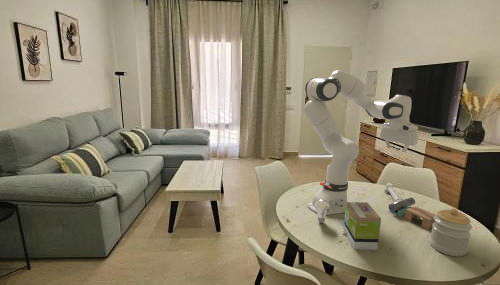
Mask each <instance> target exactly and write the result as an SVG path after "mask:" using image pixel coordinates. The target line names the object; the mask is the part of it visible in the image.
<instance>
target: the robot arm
mask: <svg viewBox="0 0 500 285" xmlns="http://www.w3.org/2000/svg"><path fill="white" fill-rule="evenodd" d="M304 87H305V88H304V90H305V97H306V100H307V102H306V103H305V104H304V105H303V111H304V114H305V116H306V118H307V120H308V122H309V124H310V125H311V126H312V128H313V129H314V130H315V132H316V133H317V135H318V136H319V138H320V141H321V144H322V147H323V149H324V150H325V151H326V152H327V153H328V154H330V155H331V156H332V158H331V162H330V163H329V164H328V165H327V168H326V177H325V178H326V179H325V181H320V182H319V186H322V187H321V188H320V189H319V190H318V191H317V192H315V194H314V195H313V196H312V200H311V202H308V203H307V207H308V209H310V210H311V211H312V212H315V213H316V214H317V211H316V209H315V204H316V202H317V201H318V200H320V199H324V200H326V201H327V202H328V203H329V205H330V209H329V212H328V213H327V214H326V216H330V215H336V214H345V210H346V202H348V188H349V182H348V181H349V180H348V179H349V171H350V168H351V166H352V165H351V164H352V163H353V161H354V160H355V159H357V157H358V156H359V154H360V146H358V144H357V143H356V142H354V141H353V140H352V139H349V138H347V137H344V136H343V135H342V134H341V133H340V131H339V124H338V122H337V121H336V119H335V117H334V116H333V115H332V113H331V112H330V110H329V109H328V107H327V103H326V102H329V101H333V100H334V99H335V98H336V97H337V96H338V95H340V96H341V97H343V98H345V99H347V100H349V101H353V102H354V103H356V104H357V105H358V106H360V107H362V108H363V109H364V111H365V112H366V114H367V115H368V116H369V117H370V118H378V119H382V120H386V121H387V120H390V123H387V122H384V123H383V124H382V125H381V130H380V132H379V133H380V134H379V138H380V140H384V142H385V144H386V148H387V149H391V147H392V145H391V144H390V143H391V142H395V143H400V144H404V147H403V148H401V152H403V153H406V152H407V150H408V149H409V147H410V146H416V144H418V141H419V139H418V138H419V133H418V130H419V126H418V125H415V124H414V123H411V121H410V115H411V112H412V111H411V110H412V98H411V97H410V96H409V95H405V94H396V95H394V97H392V98H390V99H388V100H383V99H376V98H375V99H374V98H371V97H369V95H367V94H365V92H366V84H365V83H364V81H362V80H361V79H360V78H358V77H356V76H355V75H353V74H351V73H350V72H347V71H344V70H342V69H336V70H334V71H333V72H332V73H331V74H330V75H329V77H313V78H311V79H309V80H308V81H307V82H306V84H305V86H304Z"/></svg>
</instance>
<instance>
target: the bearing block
mask: <svg viewBox="0 0 500 285" xmlns="http://www.w3.org/2000/svg"><path fill="white" fill-rule="evenodd" d="M411 207H412V208H408V209H406V210H405V215H404V217H403V219H404V220H405V221H407V222H410V223H412V222H415V221H418V220H421V219H422V220H421V227H420V228H422V229H424V230H427V231H431V230H432V227H433V226H432V225H433V223H434V222H435V221H434V216H436V215H437V214H435V213H433V212H431V211H428V210H425V209H423V208H421V207H418V206H416V205H415V206H411Z"/></svg>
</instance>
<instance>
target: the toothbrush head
mask: <svg viewBox="0 0 500 285" xmlns="http://www.w3.org/2000/svg"><path fill="white" fill-rule="evenodd" d="M383 189H384V190H383V191H384V193H385V194H387V195H391V196H392V199H393V200H394V203H395V202H398V201H401V200H404V199H403V198H401V196H400V195H399V193H398V192H397V191H396V189H395V188H394V185H393V184H392V183H391V182H387V183H386V185H385V186H384V188H383Z"/></svg>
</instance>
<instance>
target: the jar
mask: <svg viewBox="0 0 500 285" xmlns="http://www.w3.org/2000/svg"><path fill="white" fill-rule="evenodd" d="M435 215H436V216H434V221H435V222H434V223H433V225H432V226H433V227H432V229H431V233H430V234H431V235H430V236H429V243H430V246H431V247H432V248H433V249H435V250H436V251H438V252H440V253H442V254H444V255H448V256H452V257H464V256H466V254H467V252H468V250H469V248H468V247H469V242H470V237H471V235H472V234H471V232H470V231H472V230H473V226H472V224H471V221H472V220H471V219H470V218H469V217H467V216H466V214H465V213H462V212H459V210H458V209H457V208H451V209H442V210H439V211H437V213H436V214H435Z"/></svg>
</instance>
